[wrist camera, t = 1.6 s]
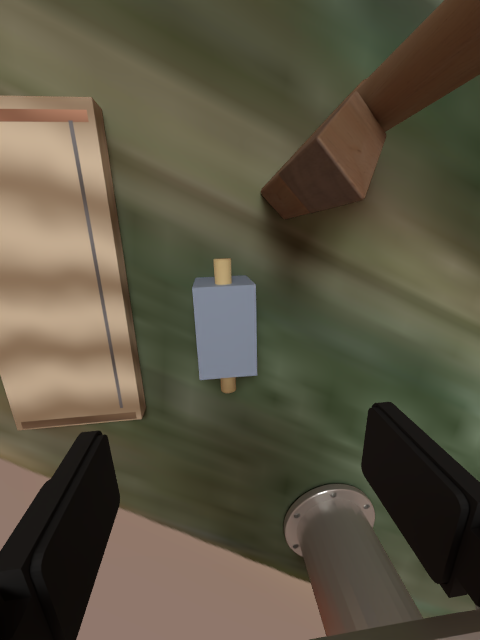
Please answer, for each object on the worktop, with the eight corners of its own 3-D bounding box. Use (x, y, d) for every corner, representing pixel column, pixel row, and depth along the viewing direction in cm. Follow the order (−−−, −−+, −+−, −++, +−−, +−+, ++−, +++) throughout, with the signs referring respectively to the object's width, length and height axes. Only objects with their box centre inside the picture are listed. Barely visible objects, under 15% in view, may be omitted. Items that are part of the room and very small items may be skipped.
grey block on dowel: (248, 366, 30) (257, 395, 25) (202, 369, 30) (201, 400, 24) (245, 255, 27) (255, 259, 21) (194, 256, 27) (190, 261, 21)
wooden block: (258, 192, 25) (361, 94, 8) (345, 98, 24) (684, -253, 7) (284, 221, 26) (425, 189, 9) (369, 133, 25) (718, -97, 8)
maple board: (146, 407, 30) (141, 418, 28) (30, 417, 29) (17, 430, 27) (101, 109, 22) (91, 97, 20) (-61, 107, 21) (-88, 94, 19)
